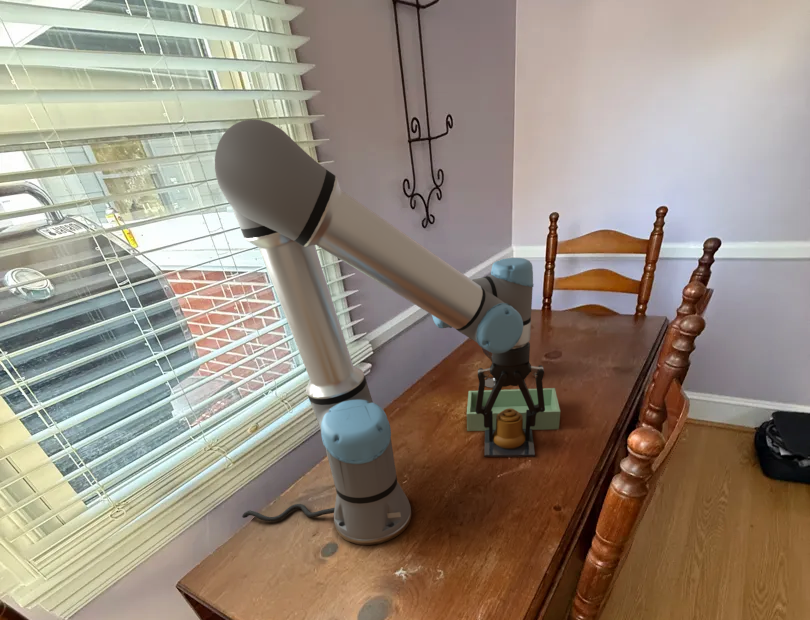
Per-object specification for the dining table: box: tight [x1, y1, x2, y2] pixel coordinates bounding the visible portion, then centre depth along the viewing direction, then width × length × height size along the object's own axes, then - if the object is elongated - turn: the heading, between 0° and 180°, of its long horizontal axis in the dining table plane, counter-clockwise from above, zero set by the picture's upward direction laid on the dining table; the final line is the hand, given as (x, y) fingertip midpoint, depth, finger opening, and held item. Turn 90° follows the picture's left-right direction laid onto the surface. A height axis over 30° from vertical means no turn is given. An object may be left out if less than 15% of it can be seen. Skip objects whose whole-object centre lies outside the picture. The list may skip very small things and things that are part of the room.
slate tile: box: [483, 429, 536, 458], centre depth 110 cm, size 11×11×1 cm
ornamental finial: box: [493, 408, 526, 449], centre depth 107 cm, size 8×8×8 cm
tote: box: [466, 387, 561, 432], centre depth 118 cm, size 22×12×5 cm, turn 82°
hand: (509, 437), depth 109 cm, fingers closed on ornamental finial, 7 cm apart
